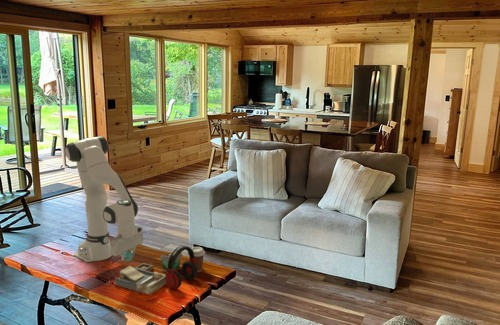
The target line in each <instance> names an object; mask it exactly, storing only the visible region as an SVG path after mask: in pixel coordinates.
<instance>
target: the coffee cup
mask: <svg viewBox="0 0 500 325" xmlns="http://www.w3.org/2000/svg"><path fill="white" fill-rule="evenodd" d="M190 248H191V249H192V250H193V252H194V258H195V265H196V267H197V273H201V272H202V271H203V269H204V268H203V267H204V266H203V263H204V255H205V254H206V251H205V250H204V249H203V247H200V246H193V247H190Z"/></svg>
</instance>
